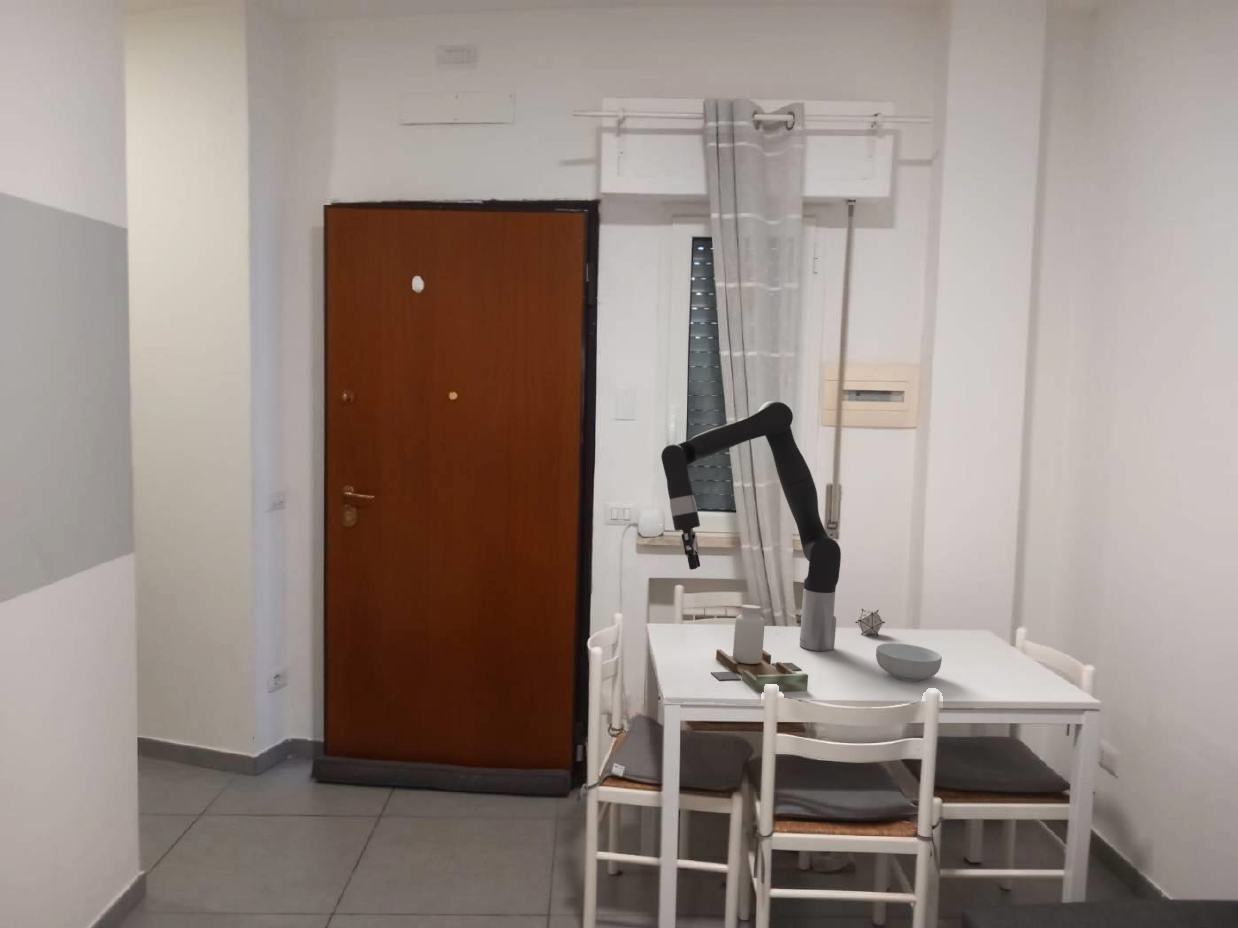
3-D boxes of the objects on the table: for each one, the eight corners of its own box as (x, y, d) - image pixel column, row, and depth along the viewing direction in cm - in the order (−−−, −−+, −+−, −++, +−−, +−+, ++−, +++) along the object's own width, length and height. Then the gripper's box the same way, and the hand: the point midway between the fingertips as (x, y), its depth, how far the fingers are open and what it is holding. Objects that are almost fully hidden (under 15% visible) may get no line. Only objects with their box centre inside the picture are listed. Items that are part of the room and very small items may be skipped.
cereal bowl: (933, 691, 224) (935, 664, 223) (867, 678, 232) (869, 652, 231) (944, 675, 239) (946, 649, 238) (882, 663, 247) (884, 638, 246)
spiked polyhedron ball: (871, 644, 280) (887, 619, 282) (876, 642, 272) (893, 616, 274) (846, 628, 282) (863, 603, 284) (851, 625, 274) (868, 599, 276)
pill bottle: (734, 655, 244) (738, 602, 244) (763, 659, 242) (767, 605, 242) (730, 661, 237) (735, 606, 236) (760, 666, 234) (764, 610, 234)
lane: (781, 656, 248) (782, 642, 248) (829, 689, 221) (831, 674, 221) (694, 658, 241) (695, 644, 241) (733, 693, 214) (734, 677, 214)
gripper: (694, 510, 246) (705, 567, 245) (699, 510, 260) (710, 564, 259) (668, 515, 247) (679, 572, 246) (674, 515, 261) (685, 568, 260)
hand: (695, 568), depth 252 cm, fingers open, 8 cm apart
